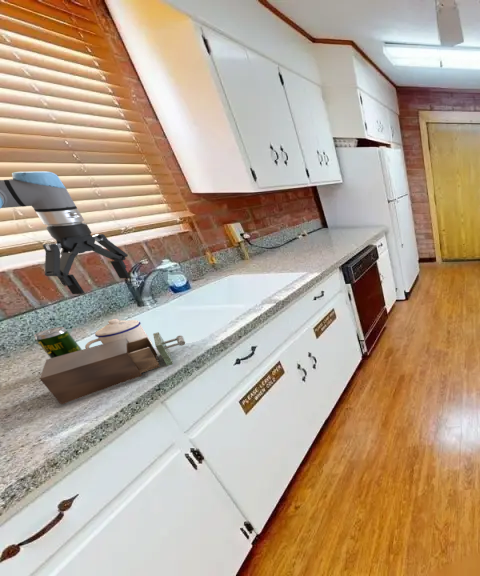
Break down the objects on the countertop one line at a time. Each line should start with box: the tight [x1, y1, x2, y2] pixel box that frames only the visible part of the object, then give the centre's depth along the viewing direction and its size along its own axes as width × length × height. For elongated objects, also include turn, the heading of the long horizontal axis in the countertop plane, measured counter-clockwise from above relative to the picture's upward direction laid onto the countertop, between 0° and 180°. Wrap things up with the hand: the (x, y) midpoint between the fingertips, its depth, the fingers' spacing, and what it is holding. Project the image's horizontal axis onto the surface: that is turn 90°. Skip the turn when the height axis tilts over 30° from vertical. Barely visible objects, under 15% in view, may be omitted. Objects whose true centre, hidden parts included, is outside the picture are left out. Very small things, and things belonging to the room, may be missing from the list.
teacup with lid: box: [84, 318, 153, 349], centre depth 93 cm, size 12×9×12 cm
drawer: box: [128, 332, 186, 374], centre depth 87 cm, size 17×10×7 cm, turn 141°
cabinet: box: [39, 338, 143, 405], centre depth 81 cm, size 14×12×9 cm
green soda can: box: [33, 326, 83, 359], centre depth 87 cm, size 5×5×12 cm
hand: (103, 285), depth 101 cm, fingers open, 13 cm apart
